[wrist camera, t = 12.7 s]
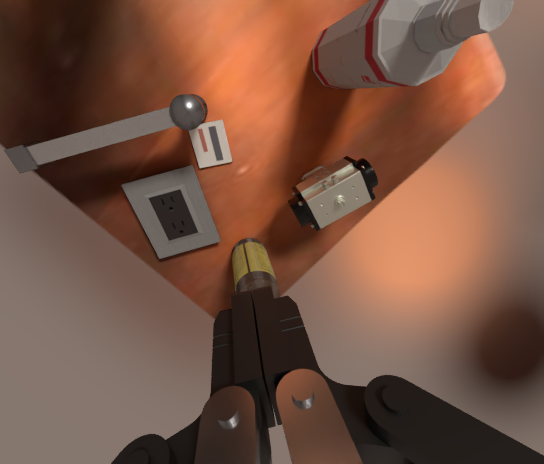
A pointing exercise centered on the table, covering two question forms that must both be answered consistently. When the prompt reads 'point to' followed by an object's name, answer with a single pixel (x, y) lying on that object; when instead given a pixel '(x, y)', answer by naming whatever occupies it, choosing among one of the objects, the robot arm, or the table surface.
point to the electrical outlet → (173, 211)
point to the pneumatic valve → (333, 192)
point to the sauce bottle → (252, 267)
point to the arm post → (202, 103)
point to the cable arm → (109, 134)
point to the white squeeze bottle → (400, 40)
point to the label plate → (210, 144)
